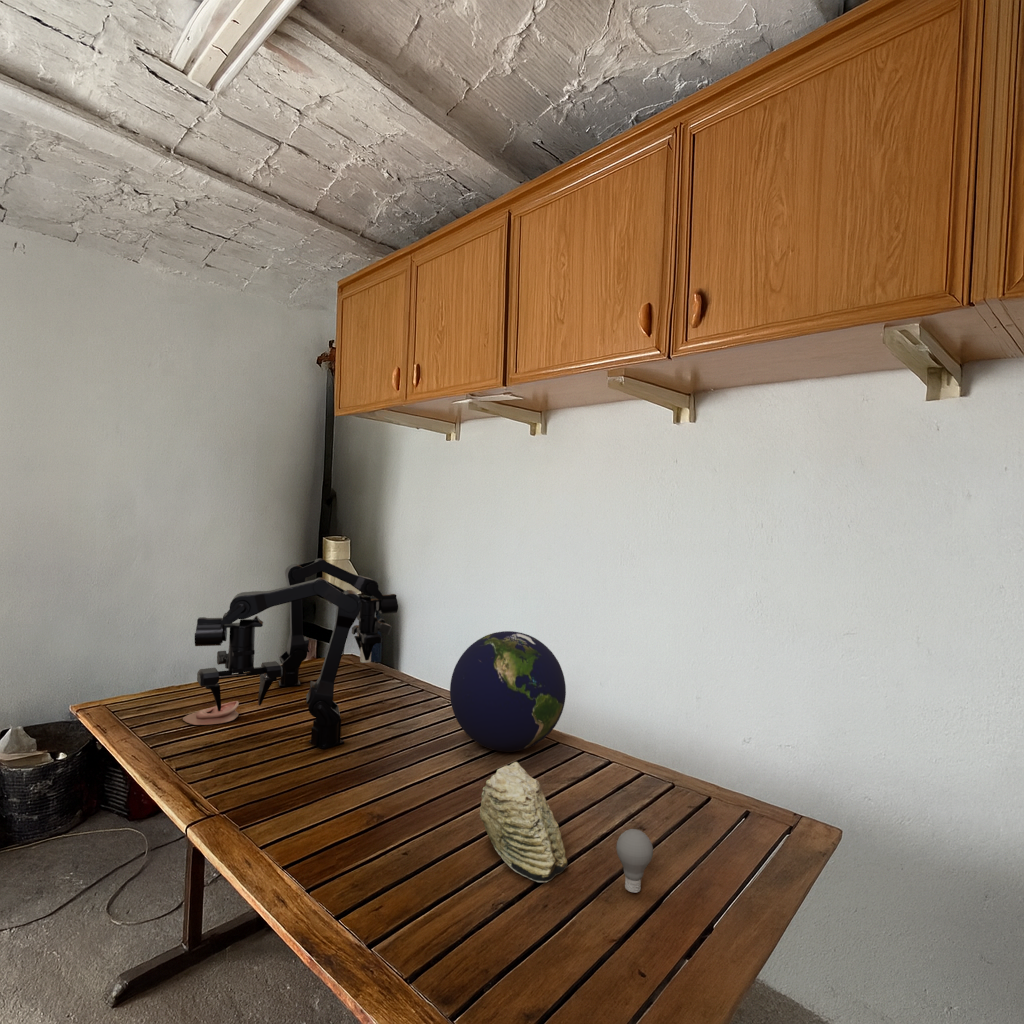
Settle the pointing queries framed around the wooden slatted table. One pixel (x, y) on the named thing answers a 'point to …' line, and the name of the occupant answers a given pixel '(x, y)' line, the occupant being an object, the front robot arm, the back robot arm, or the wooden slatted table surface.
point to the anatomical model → (214, 715)
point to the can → (362, 658)
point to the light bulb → (634, 857)
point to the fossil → (522, 824)
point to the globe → (507, 691)
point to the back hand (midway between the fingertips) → (365, 658)
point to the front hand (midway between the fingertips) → (239, 707)
